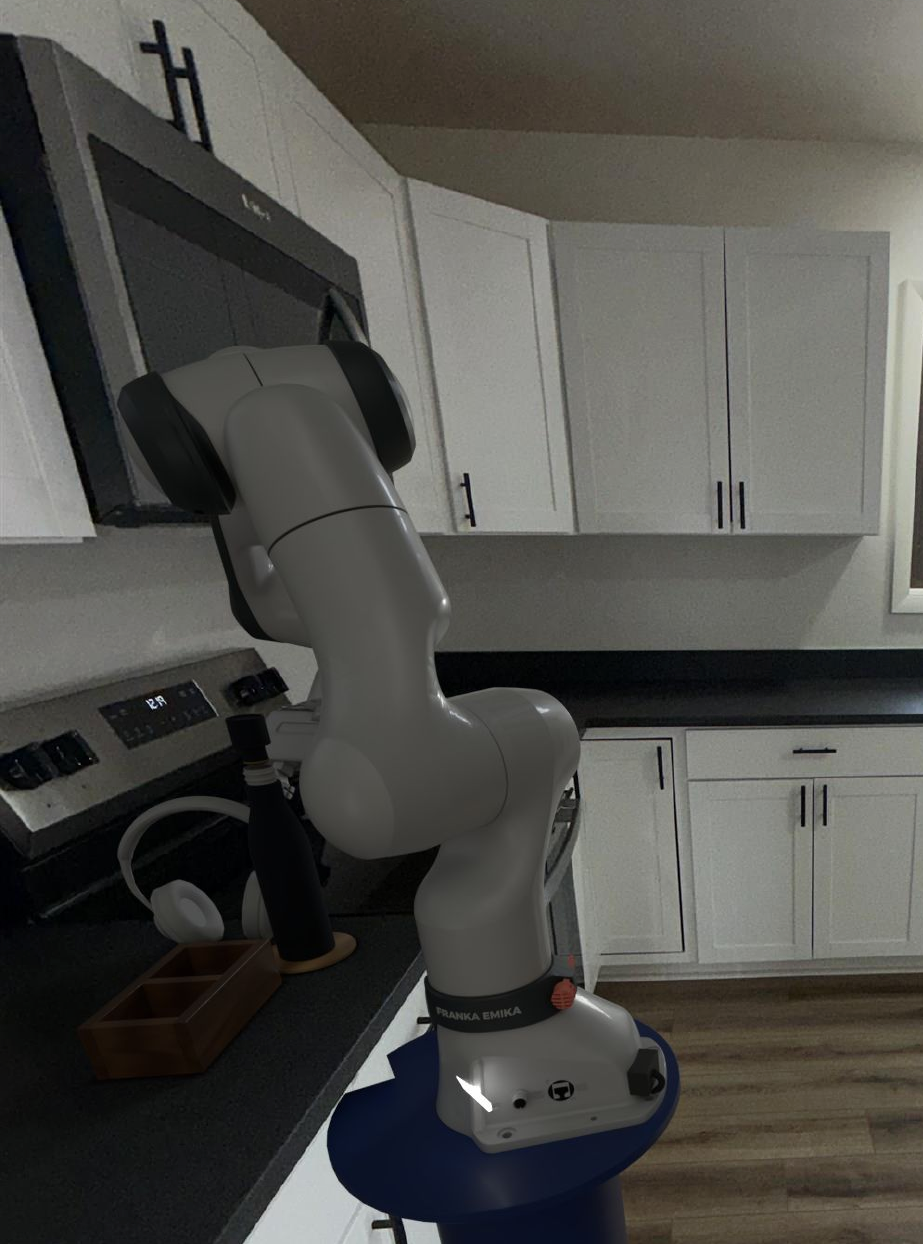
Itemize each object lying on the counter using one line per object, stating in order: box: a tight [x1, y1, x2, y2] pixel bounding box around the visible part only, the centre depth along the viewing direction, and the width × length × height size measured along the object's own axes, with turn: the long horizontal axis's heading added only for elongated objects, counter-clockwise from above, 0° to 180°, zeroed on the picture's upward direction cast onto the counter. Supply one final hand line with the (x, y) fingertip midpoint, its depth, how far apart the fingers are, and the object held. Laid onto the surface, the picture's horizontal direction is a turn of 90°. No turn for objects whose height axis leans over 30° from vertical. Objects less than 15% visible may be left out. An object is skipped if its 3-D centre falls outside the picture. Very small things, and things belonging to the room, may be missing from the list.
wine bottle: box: [224, 713, 335, 962], centre depth 104 cm, size 6×6×30 cm
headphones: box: [116, 795, 274, 944], centre depth 108 cm, size 19×9×20 cm, turn 108°
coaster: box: [272, 931, 357, 975], centre depth 110 cm, size 11×11×1 cm
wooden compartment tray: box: [76, 938, 283, 1081], centre depth 93 cm, size 10×19×6 cm, turn 7°
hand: (314, 798), depth 110 cm, fingers open, 8 cm apart
